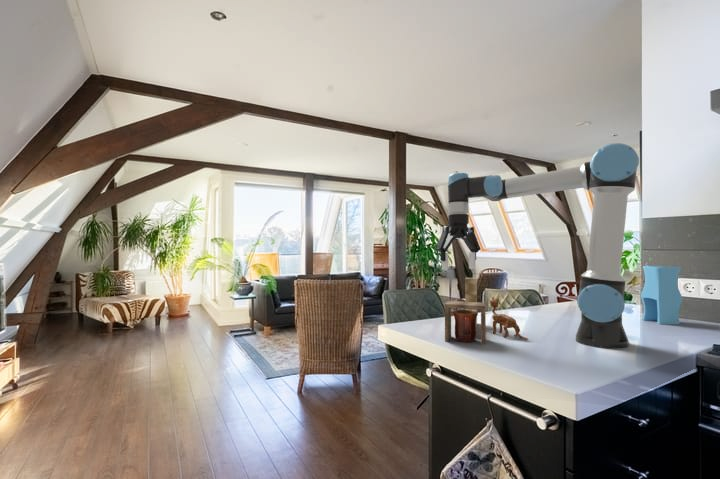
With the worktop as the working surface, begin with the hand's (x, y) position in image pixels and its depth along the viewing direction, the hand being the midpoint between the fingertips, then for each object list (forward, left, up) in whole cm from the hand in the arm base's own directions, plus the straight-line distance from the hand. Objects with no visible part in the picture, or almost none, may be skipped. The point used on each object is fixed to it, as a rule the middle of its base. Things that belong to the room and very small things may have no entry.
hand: (458, 269), depth 139 cm
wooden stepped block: (-3, -12, -25) cm, 28 cm away
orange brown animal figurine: (-17, -3, -25) cm, 31 cm away
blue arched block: (-80, -51, -25) cm, 98 cm away
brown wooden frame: (-3, +8, -25) cm, 26 cm away
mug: (-3, +9, -25) cm, 27 cm away
